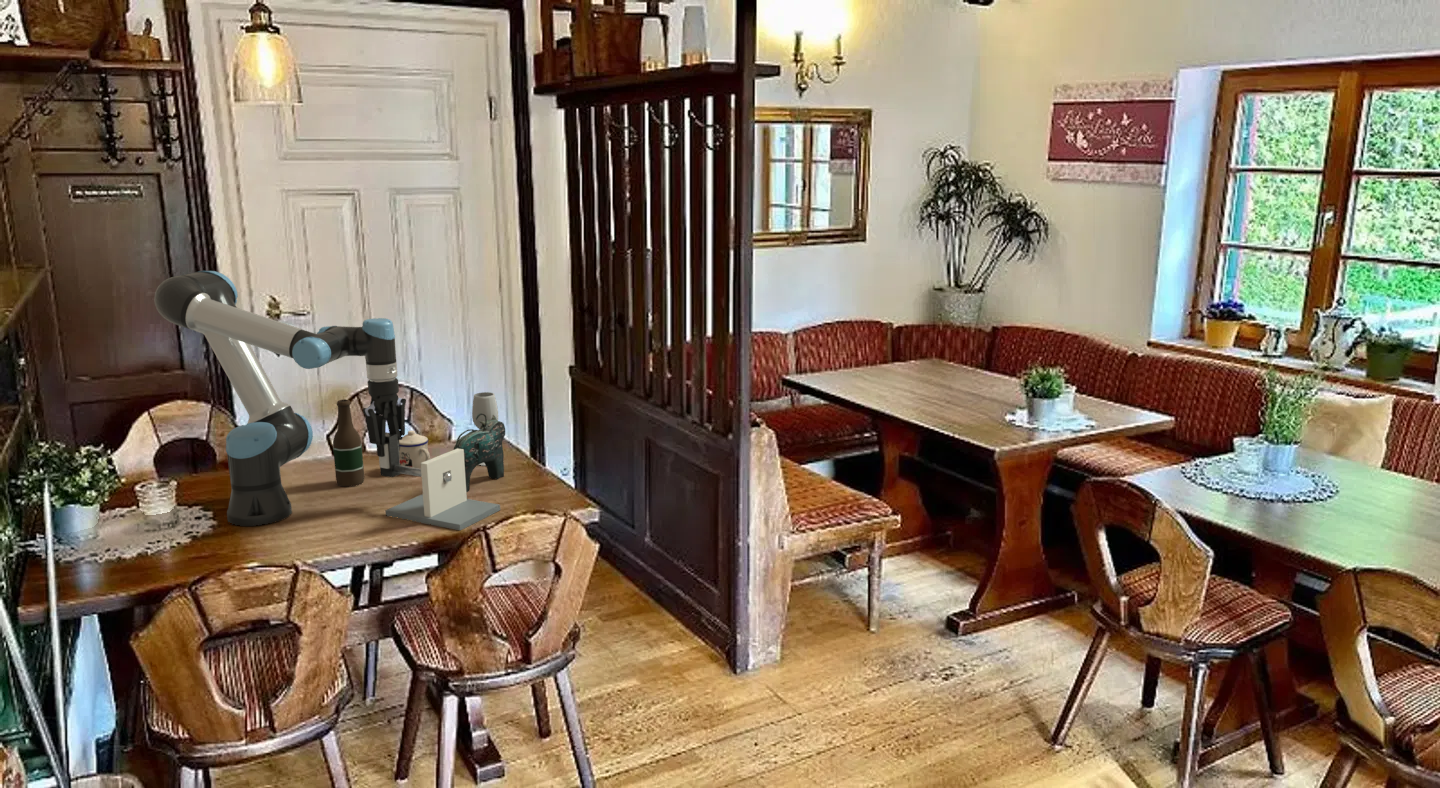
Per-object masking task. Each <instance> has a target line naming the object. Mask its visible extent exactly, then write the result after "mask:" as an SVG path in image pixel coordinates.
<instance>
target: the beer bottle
mask: <svg viewBox="0 0 1440 788" xmlns="http://www.w3.org/2000/svg"><path fill="white" fill-rule="evenodd" d="M336 407H337V422H338V423H337V424H338V425H337V431H336V433H335V435H334V436H333V441H332V449H333V450H332V451H333V461H334V469H335V470H334V471H335V473H334V474H335V480H336V485H337V486H339V487H342V488H347V487H348V488H349V486H351V487H357V486H360V485H363V484H362V483H364V481H365V469H364V458H363V457H364V455H363V446H362V438H361V435H360V434H359V431H358V430H357V429H356V428H355V426H354V424H353V418H352V417H353V416H352V413H351V401H350V400H349V399H340V400H337V402H336ZM359 484H360V485H359ZM356 485H357V486H356Z"/></svg>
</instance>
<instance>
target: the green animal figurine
mask: <svg viewBox="0 0 1440 788" xmlns="http://www.w3.org/2000/svg"><path fill="white" fill-rule="evenodd" d="M480 415H484V417H485V422H483V421H479V422H480V423H481V424H482V425H481V427H480V429H472V428H470V429H466V430H464V431H463V432H461V433H460V434H459V435H458V436H457V439H456V443H455V445H454V447H453V450H455V449H457V448H458V449H464V463H465V479H466V493H468V492H470V481H471V476H472V474H473V471H474V469H475V468H477V466H479V464H481V463H485V464H486V466H485V467H486V471H487V473H488V478H489V479H492V480H499V479H501V478H503V477H505V465H504V455H505V454H504V447H503V440H504V439H505V436H506V426H505V424H504V422H503V421H501V420H499V419H498V420H497V419H496V417H495V416H494V415H493V416H492V419H491V420H487V419H486V415H485V414H482V413H480V414H478V415H477V417H476V420H477V419H478V417H479V416H480Z"/></svg>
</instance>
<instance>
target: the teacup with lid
mask: <svg viewBox="0 0 1440 788" xmlns="http://www.w3.org/2000/svg"><path fill="white" fill-rule="evenodd" d="M402 437H403V438H402V440H399V443H400V451H399V459H400V465H401V466H407V467H413V468H419V469H421V463H422V462H425V461H427V460H430V459H431V455H430V454H431V453H430V452H429V444H428V443H429V439H428V437H427V436H424V435H421V434H418V433H416V431H415V430H408V431H407V434H405V435H404V436H402Z"/></svg>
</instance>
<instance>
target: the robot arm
mask: <svg viewBox="0 0 1440 788" xmlns="http://www.w3.org/2000/svg"><path fill="white" fill-rule="evenodd" d="M237 298H238V290H237V288H236V286H235V284H234V282H233V281H232V280H231V278H229V277H228V276H227V275H225V274H223V273H221V272H219V271H215V270H199V271H196V272H192V273H188V274H187V273H185V274H183V275H181V274H180V275H176V276H171V277H168V278H166V279H165V280H163V281H162V282H161V283H160V284H159V285H158V286H157V288H156V290H155V293H154V306H155V308H156V311H157V312H158V313H159V315H160V316H161V317H162V318H163V319H165V320H166V321H168V322H169V323H172V324H173V325H176V326H179V327H181V328H186V329H188V330H191V331H195V332H196V333H200V334H202V335H204V337H205V339H206V340H207V342H208V344H209V346H210V348H211V349H212V351H213V352H214V354H215V356H216V358H217V360H218V362H219V364H220V366H221V367H222V369H223V371H224V372H225V374H226V376H227V378H228V381H230V384H231V386H232V387H233V389H234V390H235V393H236V394H237V396H238V398H239V400H240V401H241V403H242V405H243V407H244V409H245V411H246V413H247V414H248V421H247V424H241V425H239V426H237V427H235V428H233V429H231V430H230V431H229V432H228V433H227V435H226V437H225V452H226V453H227V454H226V455H227V463H228V471H229V472H228V473H229V480H230V486H231V488H230V489H231V493H230V499H229V502H228V508H227V510H226V517H227V518H226V519H227V522H228V523H229V522H230V523H232V524H231V525H233V524H235V525H234V526H237V525H240V526H239V527H257V526H256V525H258V526H263V525H262V524H265V525H269V524H268V523H270V524H273V523H272V522H274V523H276V522H275V521H277V522H280V521H282V519H283V520H284V518H285V519H287V518H288V517H290V516H291V515H292V513H293V511H292V503H291V501H290V498H289V497H288V494H287V492H286V489H285V488H284V487H283V483H282V478H281V476H282V475H281V468H280V467H282V466H284V465H286V464H288V463H289V462H291V461H293V460H296V459H297V458H299V457H301V456H302V455H303V454H304V453H306V452H307V451H308V449H309V448H310V446H311V444H312V442H313V437H314V434H313V433H314V432H313V427H312V425H311V423H310V421H309V420H308V419H307V418H306V417H305V416H304V415H301V414H299V413H298V412H295V411H294V410H293V407H292V405H291V404H289V403H286V402H284V401H282V400H281V399H280V397H279V395H278V393H277V392H276V389H275V388H274V386H273V384H272V382H271V381H270V379H269V377H268V376H269V375H267V372H265V369H264V368H263V365H262V364H261V362H260V360H259V358H258V357H257V355H256V353H255V351H254V350H253V347H254V346H255V347H257V348H260V349H263V350H266V351H269V352H272V353H275V354H277V355H282V356H284V357H286V358H291V359H293V361H295V363H296V365H298V366H299V367H301V368H303V369H307V370H310V369H318V368H322V367H323V366H325V365H327V364H329V363H331V362H334V361H337V360H339V359H341V358H344V357H364V358H365V367H366V368H365V369H366V378H367V379H368V381H367V391H368V394H369V396H370V402H369V403H370V405H369V406H368V407H363V408H362V413H363V414H364V417H365V421H366V427H367V434H368V441H369V444H371V445H372V444H373V445H376V454H377V457H378V460H379V461H378V463H379V468H386V469H388V468H390V465H389V453H388V444H385V432H386V426H387V428H388V429H387V430H388V433H393V434H397V436H398V449H399V451H400V443H399V440H402V438H403V437H404V436H405V435H406V415H405V414H406V413H405V412H406V411H405V407H406V403H407V399H406V398H402V397H399V395H398V393H399V391H400V385H399V379H398V378H397V377H398V367H397V365H398V364H397V354H396V352H397V351H396V334H395V327H394V324H393V321H392V320H391V319H388V318H385V317H384V318H383V317H378V318H376V317H375V318H369V319H365V320H363V321H362V326H341V325H340V326H337V325H331V326H328V325H327V326H322V327H320V328H319V331H317V333H315V332H311V331H309V330H305V329H302V328H300V327H296V326H293V325H290V324H287V323H284V322H281V321H278V320H275V319H271V318H269V317H266V316H263V315H260V314H256V313H254V312H251V311H247V310H245V309H242V308H238V307H237V306H236V305H237V303H238V300H237ZM252 346H253V347H252ZM386 423H387V424H386ZM399 461H400V459H399ZM290 514H291V515H290ZM289 515H290V516H289ZM286 517H287V518H286ZM279 520H280V521H279ZM230 523H229V524H230Z"/></svg>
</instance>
